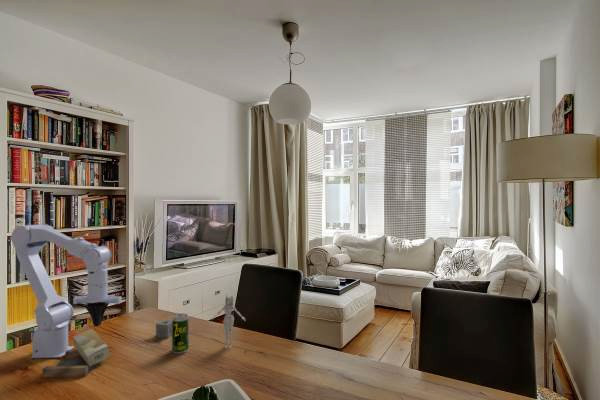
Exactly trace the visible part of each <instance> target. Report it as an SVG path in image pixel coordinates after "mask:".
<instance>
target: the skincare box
mask: <svg viewBox="0 0 600 400" xmlns="http://www.w3.org/2000/svg"><path fill="white" fill-rule="evenodd" d="M72 340H73V343H74V344H73V346H74V348H75V350H78V352H79V353H80V355H81V356H82V357H83V359H84V360H85V361H86V363H87V364H88V365H89V367H90V366H92V365H94V364H96V363H98V362H100V361H101V362H102V361H104V360H106V359H107V358H109V357H110V356H111V354H110V351H109V346H108V344H107V343H106V342H105V341H104V340H103V339H102V338H101V337H100V335H99V334H98V333H97V332H96V331H95V330H94V328H93V327H92V328H89V329H86V330H85V331H83V332H80V333H79V334H76V335H74V336H72ZM101 362H100V363H101Z"/></svg>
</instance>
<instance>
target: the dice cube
mask: <svg viewBox="0 0 600 400" xmlns="http://www.w3.org/2000/svg"><path fill="white" fill-rule="evenodd" d="M155 337H156V338H159V339H160V338H161V339H169V338H172V319H162V320H160V321H159V322H157V323H156V324H155Z"/></svg>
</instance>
